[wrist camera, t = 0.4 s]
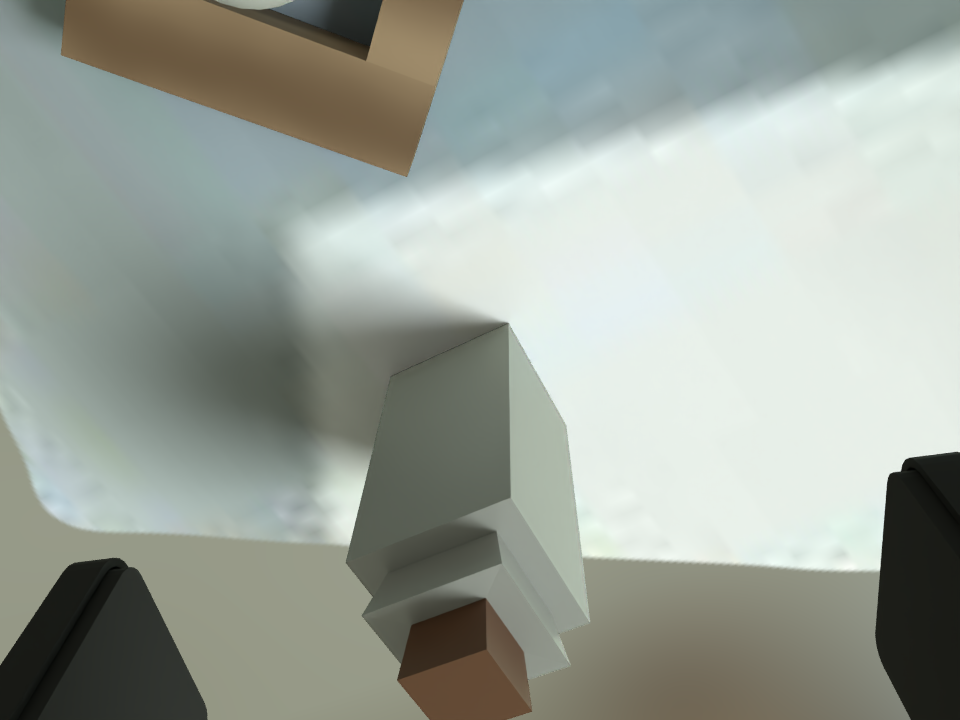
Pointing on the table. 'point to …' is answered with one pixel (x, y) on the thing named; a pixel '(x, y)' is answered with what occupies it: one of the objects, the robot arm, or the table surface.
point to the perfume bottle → (471, 531)
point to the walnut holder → (279, 67)
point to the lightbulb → (255, 3)
